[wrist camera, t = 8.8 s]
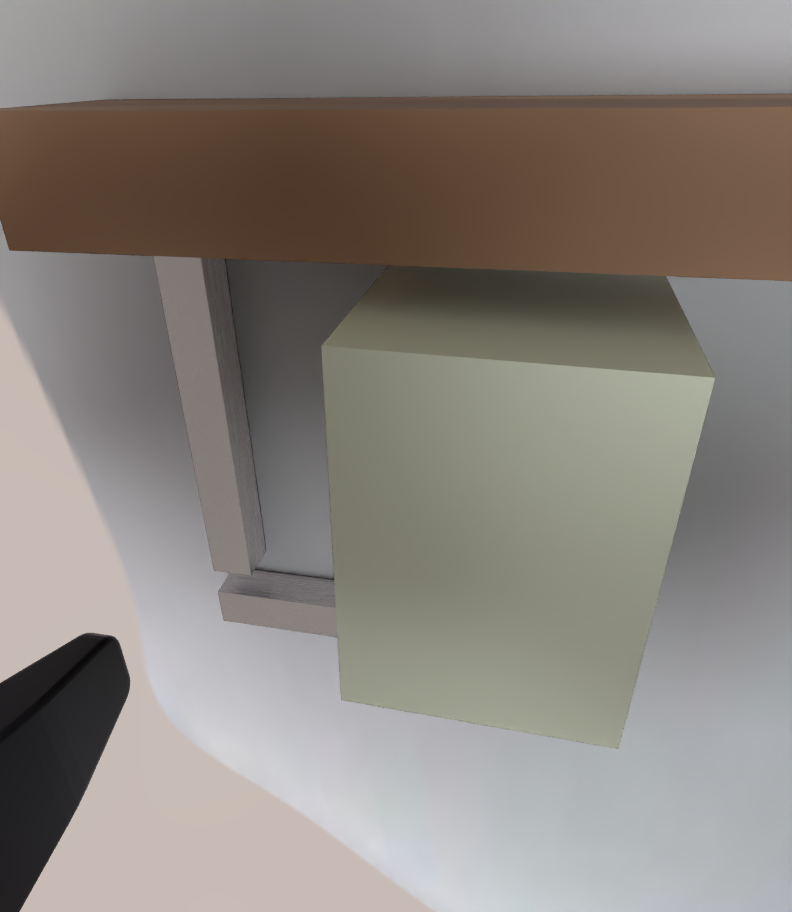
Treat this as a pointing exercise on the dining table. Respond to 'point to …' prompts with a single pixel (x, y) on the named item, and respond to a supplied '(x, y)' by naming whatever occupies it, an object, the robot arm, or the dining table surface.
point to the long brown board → (412, 181)
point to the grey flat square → (229, 453)
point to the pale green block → (507, 490)
